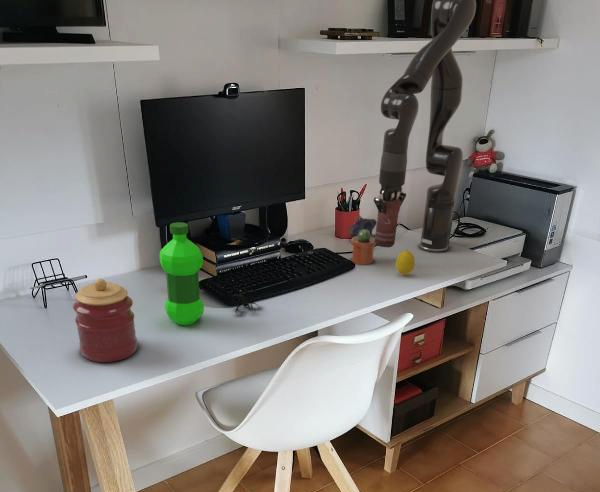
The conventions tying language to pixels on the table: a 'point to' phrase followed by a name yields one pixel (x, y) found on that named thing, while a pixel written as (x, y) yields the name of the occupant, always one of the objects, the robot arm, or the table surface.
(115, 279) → the table surface
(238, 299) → the creature
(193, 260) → the plastic bottle
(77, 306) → the kitchen canister
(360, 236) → the plant pot
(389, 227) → the can
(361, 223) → the frog
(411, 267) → the lemon
